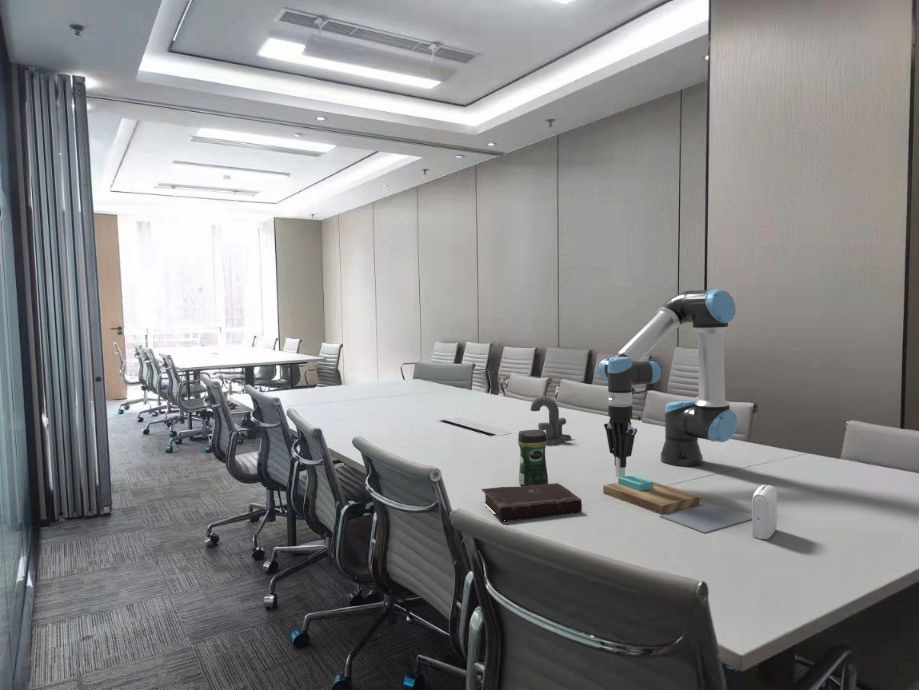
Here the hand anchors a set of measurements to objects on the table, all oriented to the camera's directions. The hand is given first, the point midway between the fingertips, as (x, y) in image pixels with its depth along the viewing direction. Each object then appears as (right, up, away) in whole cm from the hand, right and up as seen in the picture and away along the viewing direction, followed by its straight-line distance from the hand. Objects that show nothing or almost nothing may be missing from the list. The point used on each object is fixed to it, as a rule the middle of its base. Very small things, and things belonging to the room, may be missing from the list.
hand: (620, 476), depth 196 cm
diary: (-31, -6, -17) cm, 36 cm away
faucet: (-13, 0, +76) cm, 77 cm away
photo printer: (+26, -6, -41) cm, 49 cm away
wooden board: (+6, -4, -11) cm, 13 cm away
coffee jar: (-28, -4, +7) cm, 29 cm away
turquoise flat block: (+3, -2, -6) cm, 7 cm away
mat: (+16, -5, -29) cm, 33 cm away
